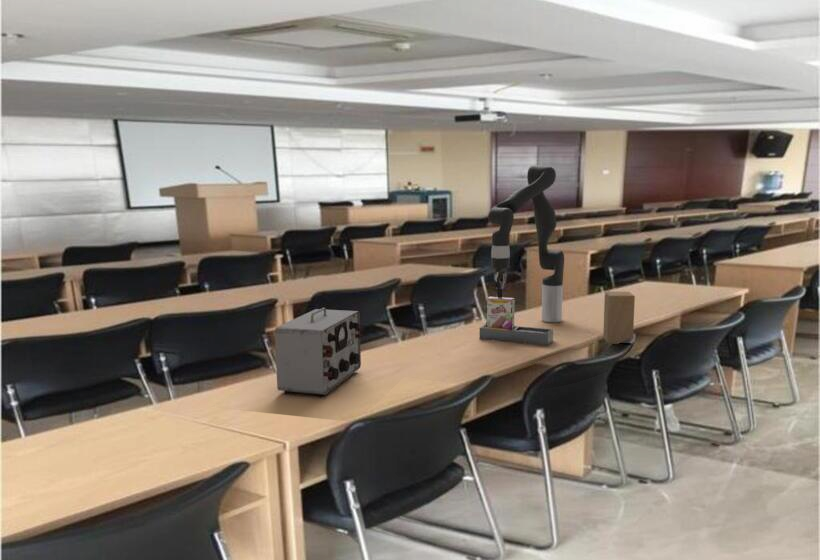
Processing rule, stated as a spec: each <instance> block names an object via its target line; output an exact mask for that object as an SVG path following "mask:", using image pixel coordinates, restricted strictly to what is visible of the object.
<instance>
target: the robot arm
mask: <svg viewBox="0 0 820 560" xmlns="http://www.w3.org/2000/svg"><path fill="white" fill-rule="evenodd" d="M556 177H557V174H556V169H554V167H552V166H548V165H539V164H533V165H530V167H528V170H527V176H526V179H527V185H526V186H523V187H521V188H519V189H517V190H515V191H514V192H512V193H511V194H510V195H509V196H508V197H507V198H506V199H505V200H503V201H501V202H499V203H498V204H496V205H494V206H493V207H492V208H491V209H490V210H489V212H488V215H487V219H488V221H489V222H490V224H491V225H496V226H500V227H499V229H498V230H495V231H493V232H492V234H491V235H492V236H491V237H492V238H491V257H490V258H491V263H490V265H491V268H492V269H495V271H494V277H492V282H493V284H494V288H495V289H497V290H496V294H497V295H496V297H498V298H502V297H504V288H505V287H506V284H507V279H508V273H507V271H506V269H509V268H510V267H511V266H510V262H511V261H510V260H511V259H510V257H511V256H510V255H511V252H510V251H511V250H510V236H511V235H510V234H511V230H512V227H513V224H514V218H515V216H514V214H515V215H516V214H517V213H518V212H519V211H520V210H521V209H522V208H523V207H524V206H525V205H526V204H527V203H529V202H530V201H532V207H533V214H534V215H533V216H534V223H535V228H536V229H535V231H536V236H537V242H538V243H537V246H538V247H537V248H538V262H539V266H540V268H541V269H542V270H545V271H546V270H547V271H554V273H553V274H552V275H549V276H545V277H543V278H542V287H541V288H542V289H541V290H542V291H541V293H542V294H541V295H542V296H541V321H543V322H546V323H560V322H562V319H563V315H562V314H563V288H564V287H563V281H564V269H565V268H564V267H565V253H564V252H563V251H562V250H559V249H557V250H556V249H554V250H553V249H549V248H548V242H549V240H550V239H551V236H553V234H554V231H556V229H557V228H556V227H557V219H556V218H557V217H556V212H555V209H554V207H553V205H552V204H551V202H550V201H549V199H548V198H547V197H546V195H545V193H544V191H546V190H547V189H549V188H550V187H551V186H552V185H554V183H555V181H556Z"/></svg>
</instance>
